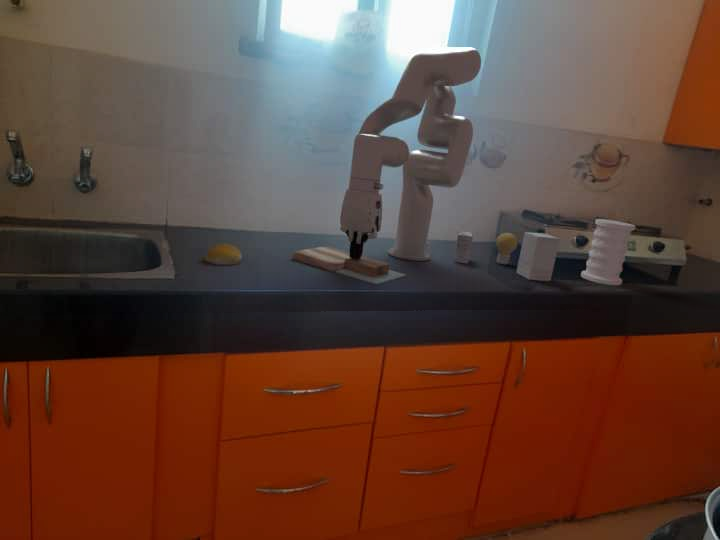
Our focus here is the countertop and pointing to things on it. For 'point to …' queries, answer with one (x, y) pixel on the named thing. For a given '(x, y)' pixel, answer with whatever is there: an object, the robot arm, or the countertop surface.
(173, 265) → the countertop surface
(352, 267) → the walnut tile
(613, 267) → the decorative container
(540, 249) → the supplement box
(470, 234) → the medicine box
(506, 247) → the light bulb
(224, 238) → the countertop surface
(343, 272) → the teal mat
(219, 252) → the bread roll
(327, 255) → the ash deck
